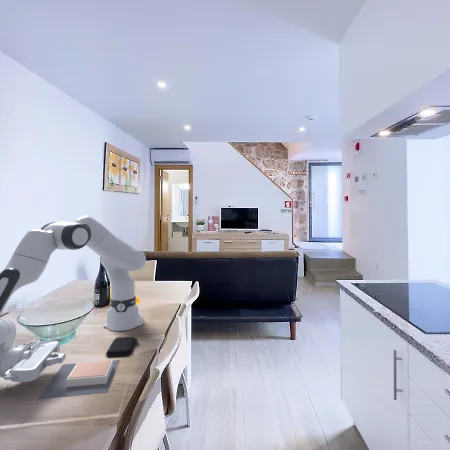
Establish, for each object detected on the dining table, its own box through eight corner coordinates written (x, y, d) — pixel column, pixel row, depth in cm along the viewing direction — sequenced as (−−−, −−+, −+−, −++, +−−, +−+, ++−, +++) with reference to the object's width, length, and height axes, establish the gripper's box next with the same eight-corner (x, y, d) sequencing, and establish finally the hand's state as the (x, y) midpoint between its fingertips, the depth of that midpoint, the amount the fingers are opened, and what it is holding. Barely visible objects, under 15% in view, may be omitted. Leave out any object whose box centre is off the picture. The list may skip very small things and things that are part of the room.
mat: (63, 366, 106) (62, 364, 106) (120, 361, 110) (120, 360, 110) (37, 401, 87) (37, 399, 87) (107, 394, 90) (107, 392, 90)
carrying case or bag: (133, 358, 113) (139, 341, 127) (133, 350, 113) (139, 335, 127) (104, 360, 111) (114, 343, 126) (104, 352, 111) (114, 336, 126)
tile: (76, 362, 102) (112, 360, 104) (77, 370, 103) (112, 367, 104) (66, 378, 93) (105, 375, 95) (66, 387, 93) (106, 383, 95)
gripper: (-2, 368, 84) (50, 364, 86) (32, 338, 104) (74, 336, 106) (-1, 390, 84) (51, 385, 87) (33, 356, 104) (74, 353, 107)
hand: (64, 358), depth 97 cm, fingers closed
